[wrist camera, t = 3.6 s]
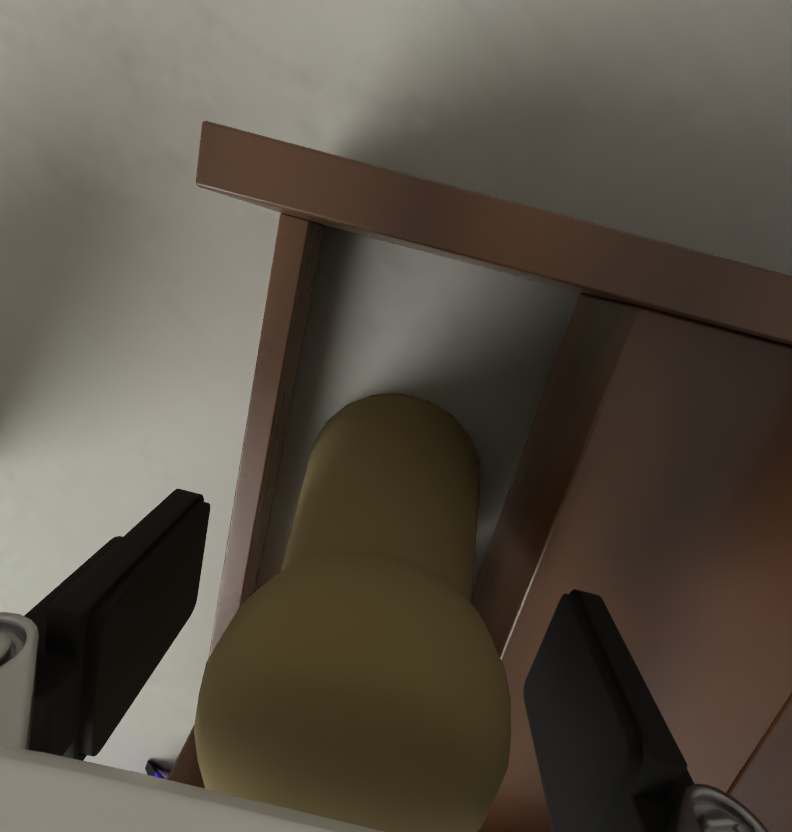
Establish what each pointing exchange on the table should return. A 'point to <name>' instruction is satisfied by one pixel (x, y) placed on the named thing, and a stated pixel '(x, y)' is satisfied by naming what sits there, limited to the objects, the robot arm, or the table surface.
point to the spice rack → (579, 456)
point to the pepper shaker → (367, 640)
